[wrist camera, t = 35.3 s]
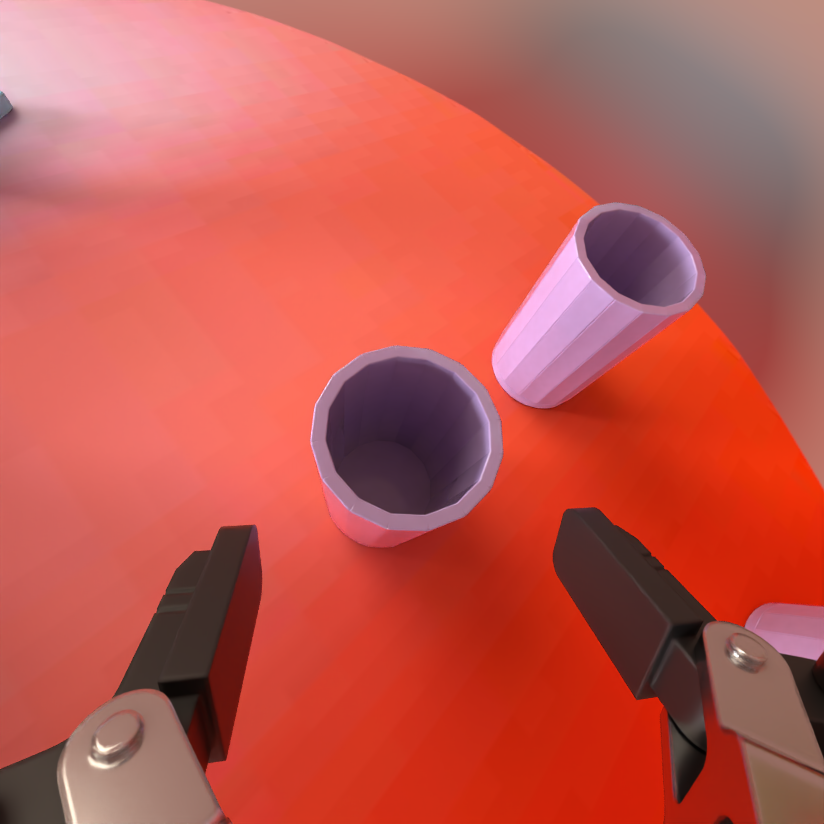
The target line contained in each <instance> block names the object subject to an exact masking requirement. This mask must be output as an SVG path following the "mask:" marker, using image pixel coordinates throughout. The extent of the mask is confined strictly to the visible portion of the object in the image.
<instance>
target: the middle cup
mask: <svg viewBox="0 0 824 824" xmlns="http://www.w3.org/2000/svg"><path fill="white" fill-rule="evenodd" d="M310 441H311V448H312V452H313V455H314V459H315V463H316V467H317V471H318V475H319V478H320V482H321V486H322V490H323V494H324V498H325V501H326V504H327V507H328V511H329V514H330V517H331V519H332V520H333V521H334V523H335V524H336V525H337V527H338V528H339V529H340V530H341V531H342V532H343V533H344V534H345V535H346V536H347V537H349V538H350V539H352V540H354V541H355V542H357V543H360V544H362V545H366V546H369V547H377V548H382V547H394V546H396V545H399V544H401V543H404V542H406V541H409V540H411V539H414V538H416V537H418V536H421V535H423V534H426V533H428V532H430V531H433V530H435V529H437V528H440V527H442V526H445V525H447V524H449V523H452V522H454V521H456V520H459V519H461V518H463V517H465V516H466V515H468V514H469V512H470V511H471V510H472V509H473V508H474V507H475V506H476V505H477V504H478V503H479V502H480V501H481V500H482V499H483V498H484V497H485V496H486V495H487V494H488V493H489V492H490V490H491V488H492V487H493V484H494V481H495V478H496V475H497V472H498V470H499V467H500V464H501V461H502V458H503V440H502V425H501V419H500V416H499V414H498V412H497V410H496V408H495V406H494V404H493V402H492V399H491V397H490V395H489V393H488V391H487V389H486V388H485V387H484V386H483V385H482V384H481V383H480V382H479V381H478V380H477V379H476V378H475V377H474V376H473V375H472V374H471V373H470V372H469V371H468V370H467V369H466V368H465V367H464V366H463V365H461V364H460V363H459V362H457V361H454V360H452V359H450V358H448V357H446V356H444V355H442V354H440V353H438V352H435V351H433V350H431V349H430V350H429V349H426V348H416V347H407V346H391V347H387V348H383V349H379V350H375V351H371V352H367V353H363V354H361V355H360V356H358V357H357V358H355V359H354V360H353V361H351V362H350V363H348V364H347V365H346V366H344V367H343V368H342V369H340V370H339V371H337V372H336V373H335V374H334V375H333V376H332V377H331V379H330V381H329V382H328V384H327V386H326V387H325V389H324V391H323V392H322V394H321V395H320V397H319V399H318V400H317V402H316V404H315V407H314V414H313V423H312V431H311V439H310Z"/></svg>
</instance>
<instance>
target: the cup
mask: <svg viewBox="0 0 824 824" xmlns="http://www.w3.org/2000/svg"><path fill="white" fill-rule="evenodd" d="M705 280H706V274H705V270H704V267H703V264H702V261H701V258H700V255H699V253H698V252H697V250H696V249H695V247H694V246H693V245H692V243H691V242H690V241H689V239H688V238H687V237H686V235H685V234H684V233H683V232H682V231H680V230H679V229H678V228H677V227H675V226H674V225H673V224H672V223H670V222H669V221H668V220H667V219H665V218H663V217H662V216H660V215H658V214H656V213H654V212H652V211H650V210H647V209H645V208H643V207H640V206H637V205H630V204H624V203H618V202H617V203H616V202H614V203H609V204H603V205H598V206H595V207H593V208H592V209H591V210H589V211H588V212H587V213H585V214H584V215H583V216H581V217H580V218H579V220H578V221H577V223H576V224H575V226H574V227H573V229H572V230H571V232H570V233H569V235H568V236H567V238H566V239H565V241H564V242H563V243H562V245H561V246H560V248H559V249H558V251H557V252H556V254H555V255H554V257H553V258H552V260H551V261H550V263H549V264H548V266H547V267H546V269H545V270H544V272H543V273H542V275H541V276H540V278H539V279H538V280H537V282H536V283H535V285H534V286H533V288H532V289H531V291H530V292H529V294H528V295H527V297H526V298H525V300H524V301H523V303H522V304H521V306H520V307H519V309H518V310H517V312H516V313H515V315H514V316H513V317H512V319H511V320H510V322H509V323H508V325H507V326H506V328H505V329H504V331H503V332H502V334H501V335H500V338H499V340H498V341H497V342H496V344H495V346H494V349H493V354H492V366H493V370H494V374H495V376H496V378H497V380H498V382H499V384H500V385H501V386H502V388H503V389H504V390H505V391H506V392H507V393H508V394H509V395H510V396H511V397H512V398H514V399H515V400H517V401H519V402H521V403H522V404H525V405H527V406H531V407H535V408H552V407H556V406H559V405H561V404H563V403H564V402H566V401H567V400H570V399H571V398H573V397H574V396H575V395H577V394H578V393H579V392H581V391H582V390H583V389H585V388H586V387H587V386H589V385H590V384H591V383H593V382H594V381H595V380H597V379H598V378H599V377H601V376H602V375H603V374H605V373H606V372H607V371H609V370H610V369H611V368H613V367H614V366H616V365H617V364H618V363H620V362H621V361H622V360H624V359H625V358H626V357H628V356H629V355H630V354H632V353H633V352H634V351H636V350H637V349H638V348H640V347H641V346H642V345H644V344H645V343H646V342H648V341H649V340H650V339H652V338H653V337H654V336H656V335H657V334H658V333H660V332H661V331H663V330H664V329H665V328H667V327H668V326H669V325H671V324H672V323H673V322H675V321H676V320H677V319H679V318H680V317H681V316H683V315H684V314H685V313H687V312H688V311H689V310H691V309H692V307H693V306H694V305H695V304H696V303H697V302H698V301H699V300H700V299H701V297H702V296H703V293H704V287H705Z"/></svg>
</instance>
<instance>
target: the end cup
mask: <svg viewBox="0 0 824 824" xmlns="http://www.w3.org/2000/svg"><path fill="white" fill-rule="evenodd" d="M744 628H746V629H748V630H750V631H752V632H753V633H755V634H757V635H758V636H760V637H761V638H763V639H764V640H765V641H767V642H768V643H769V644H770V645H772V646H773V647H774V648H775V649H776V650H777V651H778V652H779V653H782V654H788V655H793V656H798V657H803V658H808V659H813V660H818V658H819V657H820V656H821V654H822V653H823V651H824V606H822V605H809V604H795V603H776V602H775V603H767V604H764V605H762V606H760V607H758V608H757V609H755V610H754V611H753V612H752V613H751V615H750V616H749V618H748V619H747V622H746V624H745V627H744Z"/></svg>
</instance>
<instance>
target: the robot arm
mask: <svg viewBox="0 0 824 824" xmlns="http://www.w3.org/2000/svg"><path fill="white" fill-rule="evenodd" d="M553 564H554V568H555V571H556V574H557V576H558V577H559V579H560V581H561V582H562V584H563V585H564V587H565V588H566V590H567V591H568V593H569V595H570V596H571V598H572V599H573V601H574V602H575V604H576V606H577V607H578V609H579V610H580V612H581V613H582V615H583V617H584V618H585V620H586V621H587V623H588V624H589V626H590V628H591V629H592V631H593V632H594V634H595V635H596V637H597V639H598V640H599V642H600V643H601V645H602V646H603V648H604V650H605V651H606V653H607V654H608V656H609V657H610V659H611V661H612V662H613V664H614V665H615V667H616V668H617V670H618V672H619V673H620V675H621V676H622V678H623V679H624V681H625V683H626V684H627V686H628V687H629V689H630V690H631V692H632V694H633V695H634V697H635V698H636V700H640V699H646V698H653V697H658V698H659V700H660V701H661V703H662V704H663V705H664V706H663V708H662V710H661V714H660V728H661V747H662V767H663V786H664V806H665V810H664V822H663V824H824V651H823V653H822V654H821V656H820V657H819V658H818V660H813V659H808V658H803V657H798V656H793V655H788V654H782V653H779V652H778V651H777V650H776V649H775V648H774V647H773V646H772V645H770V644H769V643H768V642H767V641H765V640H764V639H763V638H761V637H760V636H758V635H757V634H755V633H753V632H752V631H750V630H748V629H746V628H744V627H741V626H739V625H736V624H733V623H730V622H725V621H717V620H716V619H715V618H714V617H713V616H712V615H711V614H710V613H709V612H708V611H707V610H706V609H705V608H704V607H703V606H702V605H701V604H700V603H699V602H698V601H697V600H696V599H695V598H694V597H693V596H692V595H691V594H690V593H689V592H688V591H687V590H686V589H685V587H684V586H683V585H682V584H681V583H680V582H679V581H678V580H677V579H676V578H675V577H674V576H673V575H672V574H671V573H670V572H669V571H668V570H665V569H664V566H663V565H662V564H661V563H660V562H659V561H658V560H657V559H656V558H655V557H652V556H651V553H650V552H649V551H648V550H647V548H646V547H645V546H644V545H643V544H642V543H641V542H640V541H639V540H638V539H637V538H635V537H634V536H632V535H631V534H629V533H628V532H626V531H625V530H623V529H622V528H620V527H619V526H617V525H613V524H612V522H611V521H610V520H609V519H608V518H607V517H606V516H605V515H604V514H603V513H602V512H601V511H600V510H599V509H597V508H595V507H591V508H573V509H567V510H566V511H565V512H564V514H563V517H562V521H561V525H560V528H559V532H558V536H557V540H556V543H555V547H554V551H553ZM261 593H262V568H261V559H260V550H259V541H258V533H257V528H256V525H243V526H224V527H221V528H220V529H219V531H218V534H217V536H216V539H215V541H214V544H213V546H212V549H211V550H207V551H194V552H193V553H192V554H191V555H190V556H189V557H188V558H187V559H186V560H185V561H184V562H183V563H182V564H181V565H180V566H179V567H178V568H177V569H176V571H175V573H174V575H173V577H172V579H171V581H170V583H169V585H168V587H167V589H166V594H165V595H163V597H162V599H161V601H160V603H159V606H158V608H157V613H155V614H154V616H153V618H152V620H151V622H150V624H149V626H148V628H147V630H146V632H145V634H144V636H143V638H142V641H141V643H140V645H139V647H138V649H137V651H136V653H135V655H134V657H133V659H132V661H131V663H130V665H129V667H128V669H127V671H126V673H125V676H124V678H123V680H122V682H121V684H120V686H119V688H118V689H117V691H116V693H115V695H114V696H113V698H112V699H111V700H109V701H107V702H105V703H104V704H103V705H101V706H100V707H98V708H97V709H96V710H94V711H93V712H92V713H91V714H90V715H88V716H87V717H86V718H85V719H84V720H83V721H82V722H81V723H80V725H79V726H78V727H77V728H76V729H75V731H74V732H73V733H72V735H71V736H70V738H68V739H66V740H65V741H63V742H61V743H60V744H58V745H56V746H53V747H51V748H49V749H47V750H45V751H42V752H40V753H38V754H35V755H33V756H31V757H28V758H26V759H23V760H21V761H19V762H16V763H14V764H12V765H9V766H7V767H4V768H2V769H0V824H232V822H231V820H230V819H229V818H228V817H226V816H225V815H224V813H223V811H222V810H221V808H220V806H219V804H218V801H217V799H216V797H215V795H214V793H213V791H212V789H211V786H210V784H209V782H208V780H207V778H206V776H205V773H206V769H207V765H208V763H212V762H219V761H226V759H227V754H228V749H229V745H230V740H231V735H232V731H233V726H234V721H235V717H236V712H237V707H238V703H239V698H240V693H241V689H242V684H243V679H244V675H245V670H246V665H247V661H248V656H249V651H250V647H251V642H252V637H253V633H254V628H255V623H256V619H257V614H258V610H259V605H260V600H261Z"/></svg>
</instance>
